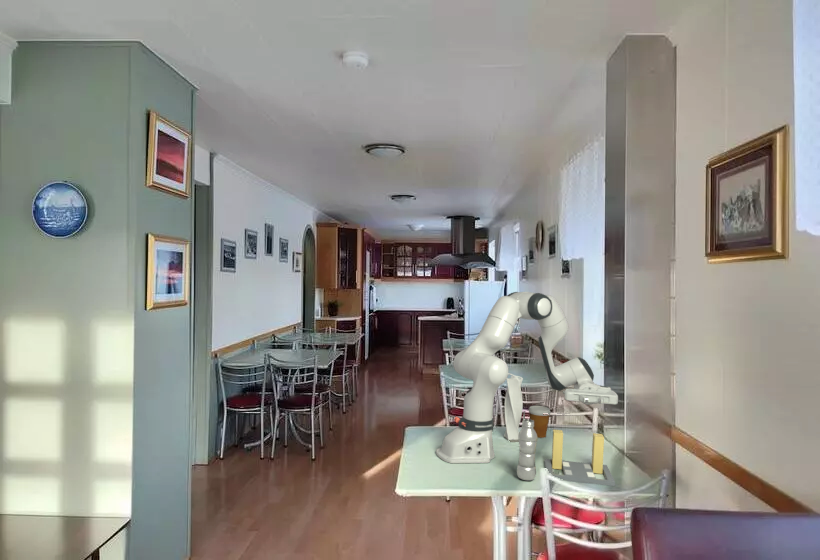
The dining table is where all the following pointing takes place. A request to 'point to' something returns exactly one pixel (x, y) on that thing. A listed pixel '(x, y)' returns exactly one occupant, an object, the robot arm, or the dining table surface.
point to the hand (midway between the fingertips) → (593, 401)
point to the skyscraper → (513, 408)
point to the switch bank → (581, 473)
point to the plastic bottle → (527, 451)
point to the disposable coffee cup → (539, 419)
